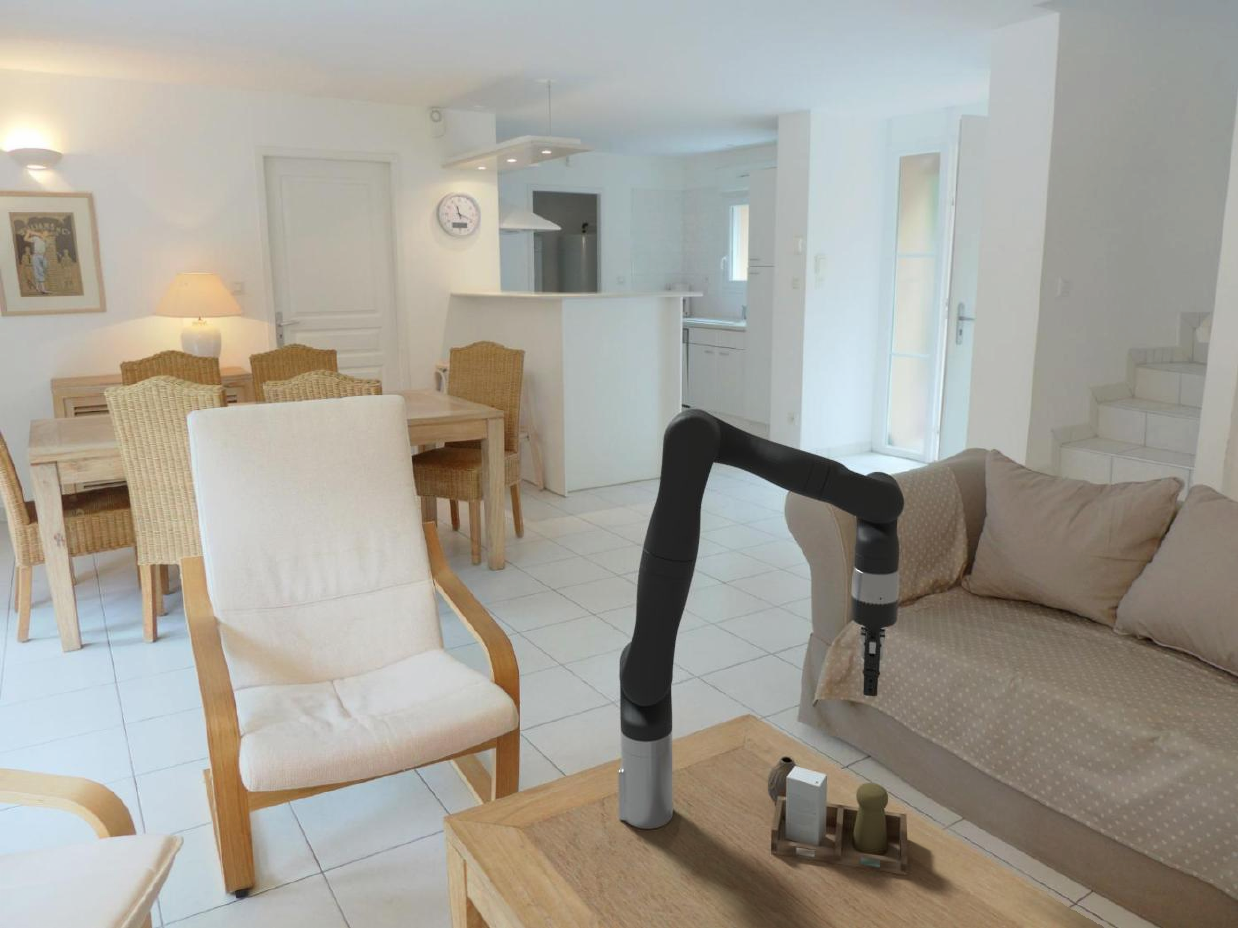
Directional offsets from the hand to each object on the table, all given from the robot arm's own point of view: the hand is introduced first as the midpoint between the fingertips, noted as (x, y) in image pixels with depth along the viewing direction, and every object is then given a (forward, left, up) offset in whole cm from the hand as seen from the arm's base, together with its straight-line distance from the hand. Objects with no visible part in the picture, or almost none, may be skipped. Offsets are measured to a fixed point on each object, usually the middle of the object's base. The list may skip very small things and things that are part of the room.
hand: (870, 683), depth 153 cm
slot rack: (-4, -6, -28) cm, 29 cm away
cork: (+1, -5, -28) cm, 28 cm away
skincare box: (-10, -6, -28) cm, 30 cm away
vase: (-14, +5, -28) cm, 32 cm away
